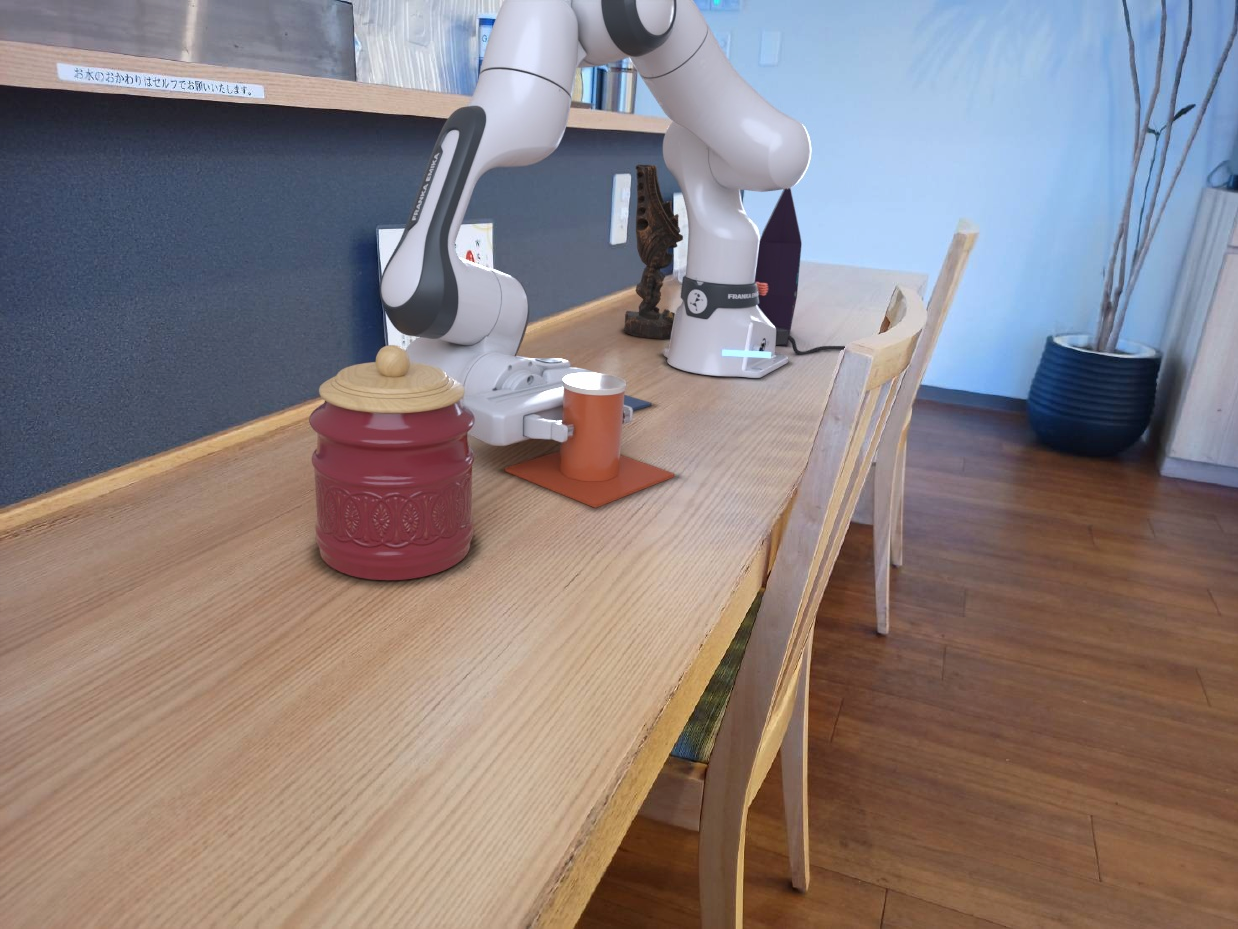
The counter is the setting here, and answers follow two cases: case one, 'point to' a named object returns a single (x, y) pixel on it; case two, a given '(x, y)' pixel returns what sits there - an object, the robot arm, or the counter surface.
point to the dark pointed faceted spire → (780, 263)
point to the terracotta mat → (590, 493)
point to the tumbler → (592, 426)
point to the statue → (652, 255)
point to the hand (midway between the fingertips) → (600, 424)
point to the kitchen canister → (393, 469)
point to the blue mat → (635, 403)
